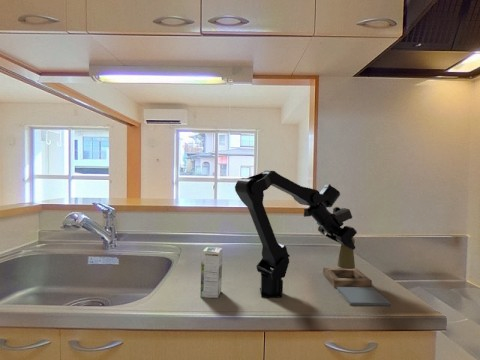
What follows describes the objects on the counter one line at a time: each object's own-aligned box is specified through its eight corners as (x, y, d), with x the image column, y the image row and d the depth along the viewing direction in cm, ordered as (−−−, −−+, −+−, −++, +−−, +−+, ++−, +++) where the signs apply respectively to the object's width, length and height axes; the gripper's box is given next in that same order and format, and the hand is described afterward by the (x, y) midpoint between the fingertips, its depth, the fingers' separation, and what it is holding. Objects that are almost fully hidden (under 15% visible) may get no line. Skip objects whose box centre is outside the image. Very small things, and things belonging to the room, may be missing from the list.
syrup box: (204, 290, 100) (204, 246, 100) (222, 291, 100) (222, 247, 99) (200, 297, 95) (200, 251, 94) (218, 298, 94) (219, 252, 93)
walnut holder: (334, 287, 104) (334, 280, 104) (323, 274, 117) (323, 267, 117) (371, 287, 105) (371, 280, 105) (356, 274, 118) (356, 268, 118)
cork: (341, 262, 115) (342, 233, 115) (357, 266, 111) (358, 236, 111) (334, 266, 110) (335, 236, 110) (351, 270, 107) (352, 238, 106)
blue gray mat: (350, 305, 91) (350, 302, 91) (337, 289, 103) (337, 286, 103) (390, 305, 91) (390, 302, 91) (372, 289, 103) (372, 287, 103)
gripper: (352, 203, 100) (381, 236, 102) (326, 198, 119) (351, 226, 121) (329, 227, 99) (359, 260, 101) (306, 218, 117) (332, 246, 120)
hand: (350, 246), depth 111 cm, fingers closed on cork, 5 cm apart
